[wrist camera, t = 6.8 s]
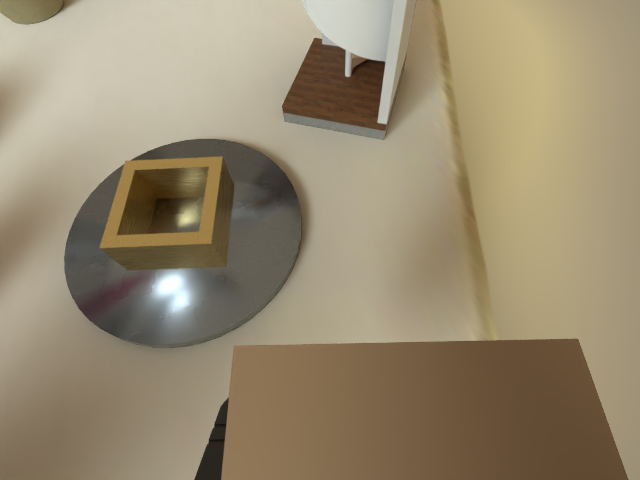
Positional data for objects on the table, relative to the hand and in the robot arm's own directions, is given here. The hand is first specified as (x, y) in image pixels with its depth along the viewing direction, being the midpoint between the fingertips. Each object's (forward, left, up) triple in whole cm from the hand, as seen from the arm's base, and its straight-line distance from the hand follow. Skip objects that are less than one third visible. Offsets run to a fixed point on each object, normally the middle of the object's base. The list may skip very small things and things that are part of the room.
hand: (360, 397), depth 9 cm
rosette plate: (-13, +15, -17) cm, 26 cm away
